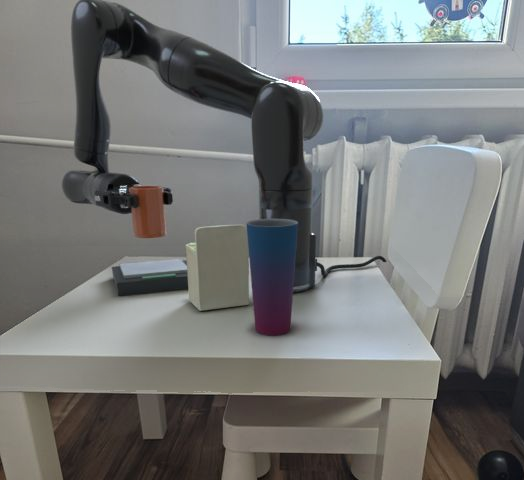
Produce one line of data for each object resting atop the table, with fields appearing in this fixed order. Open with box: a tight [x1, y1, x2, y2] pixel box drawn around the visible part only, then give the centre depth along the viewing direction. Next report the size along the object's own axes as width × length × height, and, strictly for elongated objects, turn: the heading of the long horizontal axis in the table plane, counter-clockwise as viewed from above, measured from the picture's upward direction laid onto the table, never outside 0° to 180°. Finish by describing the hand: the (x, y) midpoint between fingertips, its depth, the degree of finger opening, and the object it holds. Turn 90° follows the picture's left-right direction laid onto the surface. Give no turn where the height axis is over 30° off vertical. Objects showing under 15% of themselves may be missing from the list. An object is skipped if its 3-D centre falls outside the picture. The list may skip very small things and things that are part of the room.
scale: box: [111, 258, 188, 297], centre depth 95 cm, size 15×13×3 cm
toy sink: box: [185, 224, 250, 312], centre depth 81 cm, size 8×7×13 cm
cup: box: [246, 219, 298, 336], centre depth 68 cm, size 7×7×15 cm
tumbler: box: [129, 185, 168, 239], centre depth 90 cm, size 6×6×8 cm
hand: (153, 200), depth 88 cm, fingers closed on tumbler, 6 cm apart
